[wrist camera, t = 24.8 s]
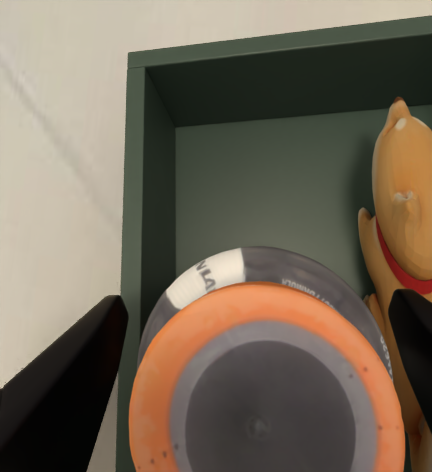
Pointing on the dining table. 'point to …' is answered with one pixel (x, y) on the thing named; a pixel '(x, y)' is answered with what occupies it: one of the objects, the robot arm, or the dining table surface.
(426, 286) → the toy
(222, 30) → the dining table surface
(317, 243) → the green storage tray
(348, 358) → the pill bottle
